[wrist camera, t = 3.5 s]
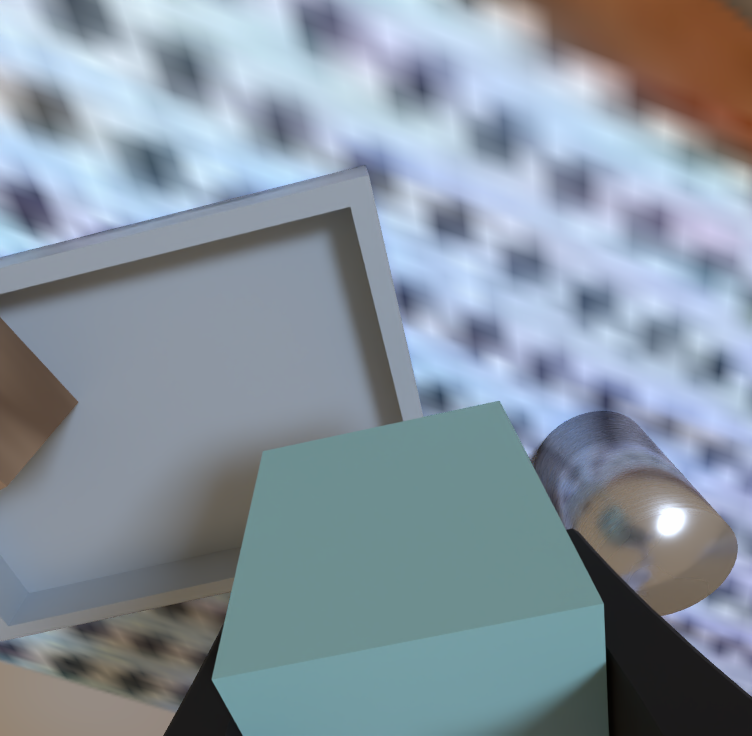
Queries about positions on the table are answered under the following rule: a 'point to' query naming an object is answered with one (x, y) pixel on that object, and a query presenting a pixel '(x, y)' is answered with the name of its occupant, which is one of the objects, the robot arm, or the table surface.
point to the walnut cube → (26, 404)
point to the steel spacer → (636, 510)
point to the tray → (189, 389)
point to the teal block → (411, 591)
